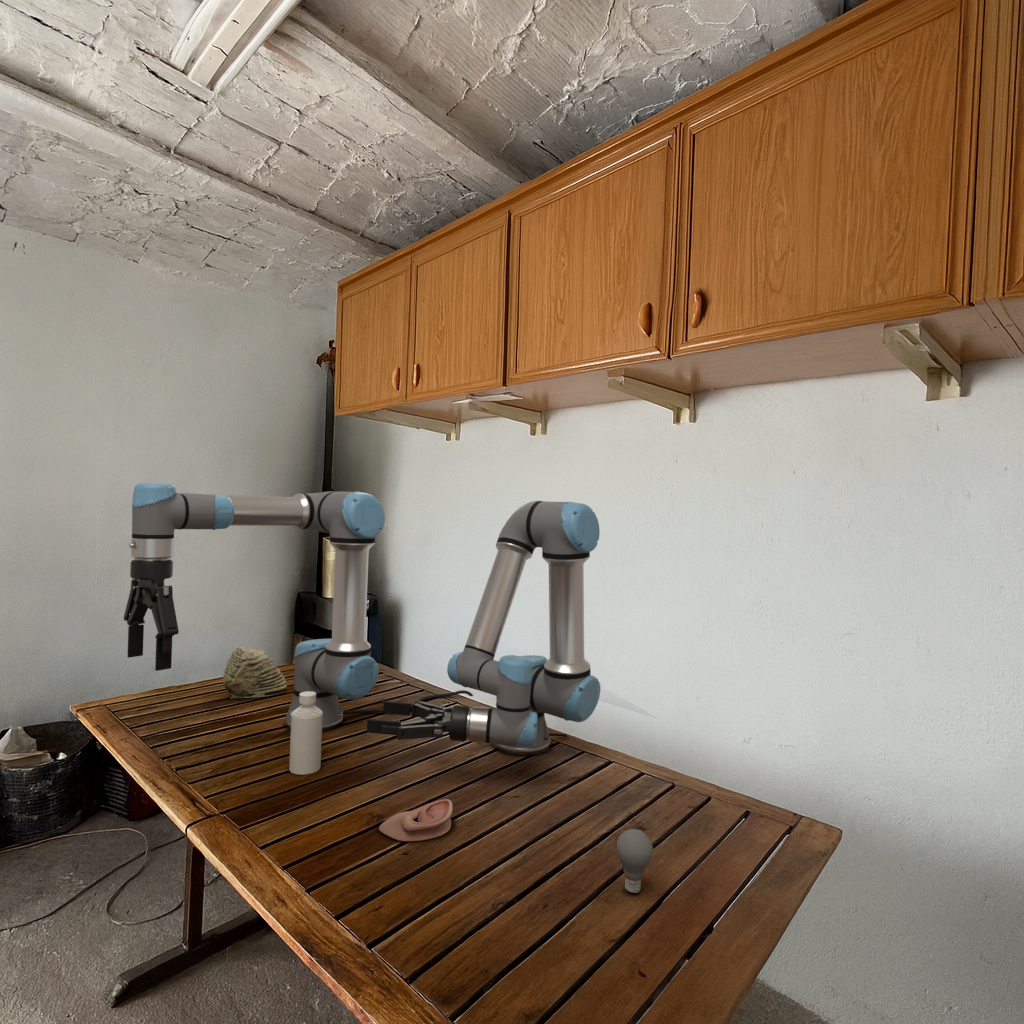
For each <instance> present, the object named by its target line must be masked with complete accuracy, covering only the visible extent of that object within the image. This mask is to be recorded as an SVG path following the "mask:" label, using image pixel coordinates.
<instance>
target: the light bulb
mask: <svg viewBox="0 0 1024 1024" xmlns="http://www.w3.org/2000/svg"><path fill="white" fill-rule="evenodd" d="M615 849H616V854H617V857H618V859H619V861H620V863H621V865H622V867H623V873H624V874H623V875H624V876H625V878H624V888H625V890H627V891H628V892H630V893H634V894H635V893H639V892H640V891H641V889H642V887H641V886H642V879H643V877H644V875H645V871H646V868H647V867H648V866H649V864H650V863H651V861H652V859H653V855H654V847H653V843H652V841H651V838H649V836H648V835H647V834H646V833H645V832H643V831H642V830H641V829H636V828H629V829H627V830H625V831H623V832H622V833H621V834H620V835H619V837H618V839H617V841H616V847H615Z"/></svg>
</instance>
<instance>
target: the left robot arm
mask: <svg viewBox="0 0 1024 1024" xmlns="http://www.w3.org/2000/svg"><path fill="white" fill-rule="evenodd" d="M385 515H386V513H385V511H384V508H383V505H382V503H381V502H380V501H379V500H378V498H377V497H375V495H373V494H370V493H367V492H363V491H362V492H361V491H337V490H336V491H335V490H333V491H332V490H330V491H321V492H311V493H295V494H294V495H293V496H276V495H275V496H274V495H273V496H272V495H248V494H247V495H246V494H244V495H243V494H220V493H219V494H218V493H217V494H216V493H215V494H214V493H189V492H187V493H186V492H177V491H176V486H175V485H174V484H173V483H152V482H139V483H137V484H136V485H135V486H134V488H133V492H132V501H131V520H132V521H131V542H130V543H128V547H129V548H130V549H131V550H130V556H131V558H133V559H132V560H131V561H130V567H129V568H130V571H129V574H130V575H129V576H130V578H131V581H130V590H129V594H128V598H127V603H126V607H125V610H124V615H123V621H124V622H126V624H127V626H128V629H127V630H128V631H127V658H135V657H142V656H144V635H145V634H144V630H145V625H144V624H145V623H146V621H145V619H144V618H145V616H146V615H147V612H148V609H149V610H151V613H152V618H153V620H154V624H155V627H156V631H157V633H156V635H155V636H154V638H155V661H154V663H155V665H154V668H155V669H154V670H155V671H157V672H159V671H164V670H169V669H172V659H173V657H172V655H173V637H175V636H176V635H179V632H180V631H179V625H178V619H177V615H176V614H177V613H176V609H175V603H174V597H173V595H174V593H173V585H165V580H167V579H171V578H172V577H173V575H174V573H173V572H174V561H173V560H172V559H171V558H173V557H174V554H175V553H174V552H175V530H213V531H215V530H224V529H228V528H230V526H233V527H234V526H237V527H238V526H240V527H243V526H246V527H247V526H249V527H250V526H258V527H259V526H268V527H269V526H276V527H277V526H282V527H284V526H285V527H286V526H287V527H288V526H289V527H290V526H291V527H293V528H294V529H296V530H308V531H309V530H310V531H316V532H319V533H325V534H329V544H330V545H331V546H332V547H333V548H334V550H335V551H334V572H333V573H334V577H333V599H332V625H331V626H332V627H331V638H317V639H308V640H304V641H300V642H299V643H297V645H296V646H295V650H294V655H293V657H294V672H293V673H294V674H293V695H292V696H293V697H292V699H291V702H290V704H289V708H288V711H287V713H286V715H285V726H286V728H287V729H289V730H291V714H292V712H293V711H294V710H296V709H297V708H298V707H300V706H301V705H302V704H300V703H299V694H300V693H302V692H307V691H311V692H315V693H316V702H315V703H313V705H315V706H316V707H318V708H319V709H321V711H322V712H323V716H322V732H325V731H329V730H332V729H335V728H337V727H339V726H340V725H342V723H343V722H344V715H355V714H367V713H368V714H369V713H383V708H365V709H351V710H343V709H342V706H341V702H340V699H339V698H341V699H342V700H343V699H344V700H348V701H349V700H350V701H357V700H360V699H362V698H364V697H365V696H367V695H368V694H370V692H371V690H372V689H374V687H375V685H376V683H377V682H378V678H379V674H380V672H379V671H380V670H379V669H380V668H379V665H378V663H377V662H376V660H375V659H374V657H371V652H372V649H371V648H372V644H371V643H370V642H368V640H367V639H366V631H367V607H368V606H367V605H368V604H367V602H368V582H369V581H368V579H369V555H370V553H369V552H370V550H371V548H372V547H374V545H375V544H376V536H378V535H379V534H380V533H381V530H383V528H384V526H385V522H386V521H385V520H386V516H385ZM460 694H465V695H467V696H469V697H473V696H474V694H473V693H472V692H471V691H469V690H463V689H462V690H461V689H460V690H457V691H456V690H455V691H453V692H449V693H438V694H432V695H427V696H423V697H420V698H419V699H416V700H415V701H412V702H410V703H411V705H412V703H416V701H422V702H425V701H427V700H431V699H438V698H445V697H446V698H447V697H453V696H456V695H460Z"/></svg>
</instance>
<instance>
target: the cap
mask: <svg viewBox="0 0 1024 1024" xmlns="http://www.w3.org/2000/svg"><path fill="white" fill-rule="evenodd" d="M315 702H316V693H315V692H311V691H307V692H302V693H300V694H299V703H300V704H313V703H315Z"/></svg>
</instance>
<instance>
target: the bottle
mask: <svg viewBox="0 0 1024 1024" xmlns="http://www.w3.org/2000/svg"><path fill="white" fill-rule="evenodd" d="M322 716H323V712H322V711H321V709H319V708H318V707H316V706H315V705H313V704H302V705H301V706H300V707H298V708H297V709H296V710H294V711H293V712H292V714H291V729H290V740H289V741H290V742H289V743H290V744H289V764H288V765H289V766H288V767H289V768H288V770H289V772H290V773H291V774H294V775H298V776H299V775H301V776H302V775H303V776H305V775H310V774H314V773H317V772H318V771H320V769H321V765H322V737H323V731H322Z"/></svg>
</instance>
